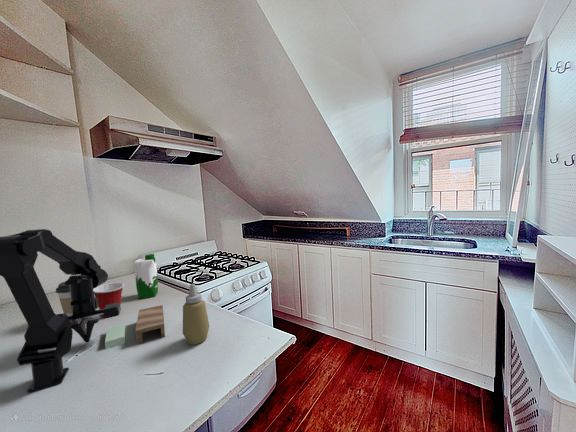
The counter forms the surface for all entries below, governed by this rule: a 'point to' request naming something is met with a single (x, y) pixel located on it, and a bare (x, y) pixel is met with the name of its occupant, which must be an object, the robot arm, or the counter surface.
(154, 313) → the bench
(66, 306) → the coffee cup
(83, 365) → the counter surface
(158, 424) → the counter surface
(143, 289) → the milk carton
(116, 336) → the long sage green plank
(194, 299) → the squeeze bottle
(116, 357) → the counter surface
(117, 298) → the plastic cup
